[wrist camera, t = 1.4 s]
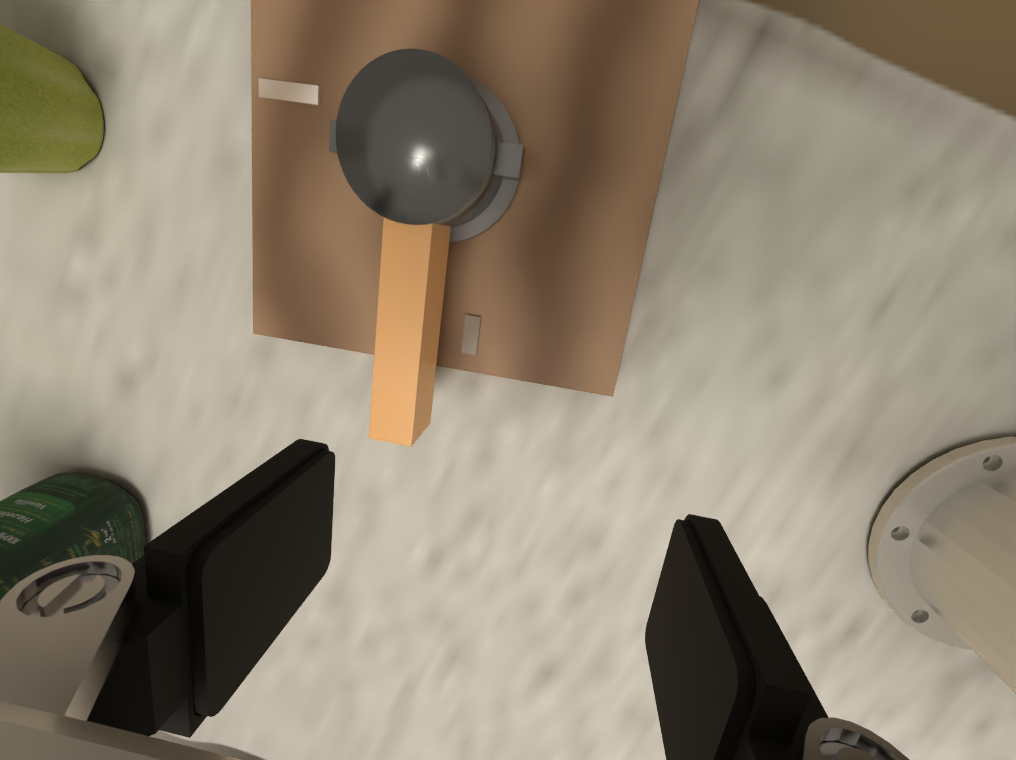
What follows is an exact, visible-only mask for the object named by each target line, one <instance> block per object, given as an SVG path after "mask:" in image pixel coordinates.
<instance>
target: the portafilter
mask: <svg viewBox="0 0 1016 760" xmlns="http://www.w3.org/2000/svg"><path fill="white" fill-rule="evenodd" d="M525 151H526V150H525V148H524V146H523V145H517V144H510V143H504V140H503V137H502V133H501V130H500V128H499V126H498V123H497V121H496V120H495V118H494V116H493V115H492V113H491V111H490V110H489V108H488V106H487V105H486V103H485V101H484V100H483V98H482V96H481V95H480V93H479V91H478V90H477V88H476V86H475V85H474V83H473V82H472V81H471V79H470V78H469V77H468V76H467V74H466V73H465V72H464V71H463V70H462V69H461V68H460V67H458V66H457V65H456V64H454V63H453V62H452V61H450V60H449V59H447V58H445V57H443V56H441V55H439V54H436V53H434V52H431V51H427V50H422V49H409V48H408V49H400V50H395V51H391V52H388V53H385V54H383V55H381V56H379V57H377V58H375V59H374V60H372V61H371V62H369V63H368V64H367V65H366V66H364V67H363V68H362V69H361V70H360V71H359V72H358V73H357V75H356V76H355V77H354V78H353V80H352V81H351V83H350V84H349V86H348V87H347V89H346V91H345V93H344V95H343V97H342V100H341V103H340V106H339V110H338V114H337V119H336V120H330V137H329V152H332V153H334V154H337V155H338V158H339V162H340V165H341V168H342V171H343V173H344V176H345V178H346V179H347V181H348V183H349V185H350V187H351V188H352V190H353V191H354V193H355V194H356V195H357V196H358V197H359V198H360V200H361V201H362V202H363V203H364V204H366V205H367V206H368V207H369V208H370V209H372V210H373V211H374V212H376V213H377V214H379V215H381V216H383V217H384V221H383V235H382V250H381V265H380V280H379V295H378V310H377V325H376V340H375V355H374V370H373V385H372V400H371V415H370V430H369V438H370V439H375V440H380V441H386V442H391V443H396V444H401V445H406V446H412V445H413V444H414V443H415V441H416V440H417V439H418V438H419V436H420V435H421V434H422V433H423V431H424V430H425V429H426V428H427V426H428V425H429V424H430V420H431V411H432V401H433V392H434V382H435V372H436V363H437V353H438V344H439V334H440V325H441V315H442V306H443V296H444V287H445V277H446V268H447V258H448V249H449V239H450V230H451V228H453V227H458V226H461V225H463V224H466V223H468V222H470V221H472V220H473V219H475V218H476V217H478V216H479V215H480V214H481V213H482V212H483V211H484V210H486V208H487V207H488V206H489V205H490V204H491V202H492V201H493V199H494V198H495V196H496V194H497V192H498V190H499V188H500V185H501V182H502V179H509V180H516V181H521V180H522V173H523V166H524V158H525Z"/></svg>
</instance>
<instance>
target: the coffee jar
mask: <svg viewBox="0 0 1016 760" xmlns="http://www.w3.org/2000/svg"><path fill="white" fill-rule="evenodd" d="M145 545H146V539H145V528H144V522H143V517H142V513H141V509H140V507H139V505H138V503H137V501H136V500H135V499H134V498H133V497H131V496H130V495H129V494H128V493H127V492H126V491H124V490H123V489H122V488H120V487H119V486H117V485H115V484H113V483H112V482H110V481H108V480H105V479H102V478H99V477H96V476H92V475H87V474H80V473H59V474H55V475H53V476H50V477H48V478H46V479H44V480H42V481H40V482H37V483H35V484H33V485H31V486H29V487H27V488H25V489H23V490H21V491H19V492H17V493H15V494H13V495H11V496H9V497H8V498H6V499H4V500H2V501H0V601H1V599H2V598H3V597H4V596H5V595H6V593H8V592H9V591H10V590H11V589H12V588H13V587H14V586H15V585H16V584H17V583H18V582H20V581H22V580H23V579H25V578H27V577H28V576H30V575H31V574H33V573H35V572H37V571H39V570H41V569H44V568H46V567H48V566H51V565H53V564H56V563H59V562H63V561H66V560H70V559H73V558H79V557H85V556H91V555H111V556H116V557H121V558H124V559H125V560H127V561H128V562H130V563H131V564H132V563H134V562H135V561H137V560H138V559H139V558H141V557H142V556H144V546H145Z"/></svg>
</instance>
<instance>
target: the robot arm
mask: <svg viewBox="0 0 1016 760" xmlns="http://www.w3.org/2000/svg"><path fill="white" fill-rule="evenodd" d="M334 476H335V454H334V453H333V452H331V451H329V449H328V446H327V445H326V444H324V443H319V442H314V441H309V440H304V439H299V440H296V441H295V442H294V443H292V444H291V445H289V446H288V447H286V448H285V449H283V450H282V451H281V452H279V453H278V454H276V455H275V456H273V457H272V458H270V459H269V460H268V461H266V462H265V463H263V464H262V465H260V466H259V467H257V468H256V469H255V470H253V471H252V472H250V473H249V474H247V475H246V476H244V477H243V478H242V479H240V480H239V481H237V482H236V483H234V484H233V485H231V486H230V487H229V488H227V489H226V490H224V491H223V492H221V493H220V494H218V495H217V496H216V497H214V498H213V499H211V500H210V501H208V502H207V503H205V504H204V505H203V506H201V507H200V508H198V509H197V510H195V511H194V512H192V513H191V514H190V515H188V516H187V517H185V518H184V519H182V520H181V521H179V522H178V523H177V524H175V525H174V526H172V527H171V528H169V529H168V530H167V531H165V532H164V533H162V534H161V535H159V536H158V537H156V538H155V539H154V540H152V541H151V542H149V543H148V544H146V545H145V546H144V556H142V557H141V558H139V559H138V560H137V561H135V562H134V563H132V564H131V563H130V562H128V561H127V560H125V559H124V558H121V557H116V556H111V555H91V556H85V557H79V558H73V559H70V560H66V561H63V562H59V563H56V564H53V565H51V566H48V567H46V568H44V569H41V570H39V571H37V572H35V573H33V574H31V575H30V576H28V577H27V578H25V579H23V580H22V581H20V582H18V583H17V584H16V585H15V586H14V587H13V588H12V589H11V590H10V591H9V592H8V593H6V595H5V596H4V597H3V598H2V599H1V601H0V760H241V759H236V758H233V757H228V756H225V755H220V754H217V753H213V752H209V751H205V750H201V749H197V748H193V747H189V746H185V745H181V744H177V743H173V742H169V741H165V740H161V739H156V738H153V737H149V736H151V735H153V734H155V733H156V732H157V731H158V730H162V731H166V732H169V733H173V734H177V735H181V736H185V737H189V738H190V737H191V736H192V735H193V733H194V732H195V731H196V729H197V728H198V727H199V726H200V724H201V723H202V722H203V721H204V719H205V718H206V717H207V716H210V717H212V716H215V715H216V714H218V713H219V712H220V710H221V709H222V708H223V707H224V706H225V704H226V703H227V702H228V700H229V699H230V698H231V696H232V695H233V694H234V692H235V691H236V690H237V689H238V687H239V686H240V685H241V683H242V682H243V681H244V679H245V678H246V677H247V675H248V674H249V673H250V672H251V670H252V669H253V668H254V666H255V665H256V664H257V662H258V661H259V660H260V658H261V657H262V656H263V654H264V653H265V652H266V651H267V649H268V648H269V647H270V645H271V644H272V643H273V641H274V640H275V639H276V637H277V636H278V635H279V634H280V632H281V631H282V630H283V628H284V627H285V626H286V624H287V623H288V622H289V620H290V619H291V618H292V617H293V615H294V614H295V613H296V611H297V610H298V609H299V607H300V606H301V605H302V603H303V602H304V601H305V599H306V598H307V597H308V596H309V594H310V593H311V592H312V590H313V589H314V588H315V586H316V585H317V584H318V582H319V581H320V580H321V579H322V577H323V576H324V574H325V573H326V571H327V569H328V566H329V563H330V559H331V542H332V520H333V498H334ZM868 556H869V567H870V571H871V574H872V578H873V581H874V583H875V585H876V587H877V589H878V590H879V592H880V594H881V596H882V597H883V598H884V600H885V601H886V602H887V603H888V604H889V605H890V607H891V608H892V609H893V610H894V611H895V613H896V614H897V615H898V616H899V617H900V618H901V619H902V620H904V621H905V622H906V623H907V624H908V625H909V626H911V627H912V628H914V629H916V630H917V631H919V632H921V633H922V634H924V635H926V636H927V637H929V638H932V639H934V640H937V641H940V642H942V643H945V644H948V645H952V646H956V647H961V648H966V649H971V650H973V651H974V652H975V653H976V654H977V655H978V656H979V657H980V658H981V659H982V660H983V661H984V662H985V663H986V664H987V665H988V666H989V667H990V668H991V669H992V670H993V671H994V672H995V673H996V674H997V675H998V676H999V677H1000V678H1001V679H1002V680H1003V681H1004V682H1005V683H1006V684H1007V685H1008V686H1009V687H1010V688H1011V689H1012V690H1013V691H1014V692H1015V693H1016V437H1004V438H997V439H990V440H984V441H980V442H976V443H973V444H970V445H966V446H963V447H960V448H956V449H954V450H952V451H950V452H948V453H946V454H944V455H942V456H939V457H937V458H935V459H933V460H932V461H930V462H929V463H927V464H926V465H924V466H923V467H921V468H920V469H918V470H917V471H915V472H914V473H912V474H911V475H910V476H909V477H908V478H907V479H906V480H905V481H904V482H903V483H901V484H900V485H899V486H898V487H897V488H896V489H895V490H894V492H893V493H892V494H891V496H890V497H889V498H888V500H887V501H886V502H885V504H884V505H883V506H882V508H881V510H880V512H879V514H878V516H877V518H876V520H875V522H874V525H873V527H872V531H871V536H870V540H869V544H868ZM645 643H646V650H647V655H648V661H649V667H650V672H651V678H652V683H653V689H654V694H655V700H656V705H657V711H658V716H659V722H660V727H661V733H662V738H663V744H664V749H665V755H666V760H909V759H908V758H907V757H906V756H904V755H903V754H902V753H901V752H900V751H898V750H897V749H896V748H895V747H894V746H893V745H891V744H890V743H889V742H887V741H886V740H884V739H883V738H881V737H879V736H878V735H876V734H875V733H873V732H872V731H870V730H868V729H866V728H864V727H861V726H859V725H857V724H855V723H853V722H850V721H846V720H842V719H838V718H834V717H832V718H829V717H828V716H827V714H826V712H825V710H824V708H823V706H822V705H821V703H820V701H819V699H818V697H817V695H816V694H815V692H814V690H813V688H812V686H811V684H810V682H809V681H808V679H807V677H806V675H805V673H804V671H803V670H802V668H801V666H800V664H799V662H798V660H797V659H796V657H795V655H794V653H793V651H792V649H791V648H790V646H789V644H788V642H787V640H786V638H785V636H784V635H783V633H782V631H781V629H780V627H779V625H778V624H777V622H776V620H775V618H774V616H773V614H772V613H771V611H770V609H769V607H768V605H767V603H766V602H765V601H764V599H763V598H762V597H760V596H759V595H758V593H757V591H756V589H755V587H754V585H753V583H752V582H751V580H750V578H749V576H748V574H747V572H746V570H745V568H744V567H743V565H742V563H741V561H740V559H739V557H738V555H737V553H736V552H735V550H734V548H733V546H732V544H731V542H730V540H729V538H728V537H727V535H726V533H725V531H724V529H723V527H722V525H721V523H720V522H719V521H718V520H716V519H711V518H706V517H701V516H696V515H690V514H689V515H687V516H686V518H685V520H679V519H678V520H676V522H675V524H674V527H673V531H672V535H671V538H670V542H669V546H668V549H667V553H666V556H665V560H664V564H663V567H662V571H661V575H660V578H659V582H658V585H657V589H656V593H655V596H654V600H653V604H652V607H651V611H650V614H649V618H648V622H647V626H646V632H645Z"/></svg>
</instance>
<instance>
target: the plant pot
mask: <svg viewBox="0 0 1016 760" xmlns="http://www.w3.org/2000/svg"><path fill="white" fill-rule="evenodd" d="M103 131H104V123H103V114H102V110H101V106H100V103H99V100H98V98H97V96H96V95H95V94H94V92H93V91H92V90H91V88H90V87H89V86H88V84H87V82H86V81H85V79H84V78H83V76H82V74H81V71H80V70H79V69H78V68H77V67H76V66H75V65H74V64H72V63H71V62H70V61H68V60H67V59H65V58H64V57H62V56H60V55H58V54H56V53H54V52H52V51H50V50H48V49H46V48H44V47H43V46H41V45H39V44H37V43H35V42H33V41H31V40H29V39H27V38H25V37H23V36H21V35H19V34H17V33H16V32H14V31H12V30H10V29H8V28H6V27H4V26H2V25H0V173H69V172H75V171H77V170H78V169H79V168H80V167H81V166H83V165H84V164H85V163H87V162H88V161H90V160H91V159H93V158H94V157H95V156H96V155H97V154H98V152H99V150H100V147H101V144H102V139H103Z"/></svg>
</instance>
